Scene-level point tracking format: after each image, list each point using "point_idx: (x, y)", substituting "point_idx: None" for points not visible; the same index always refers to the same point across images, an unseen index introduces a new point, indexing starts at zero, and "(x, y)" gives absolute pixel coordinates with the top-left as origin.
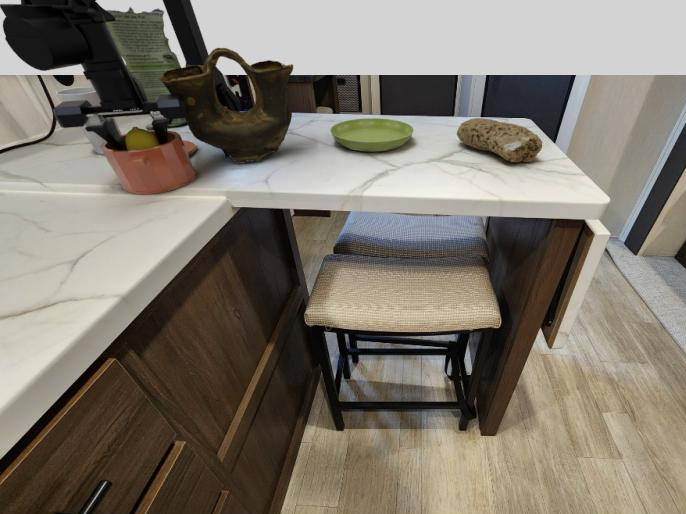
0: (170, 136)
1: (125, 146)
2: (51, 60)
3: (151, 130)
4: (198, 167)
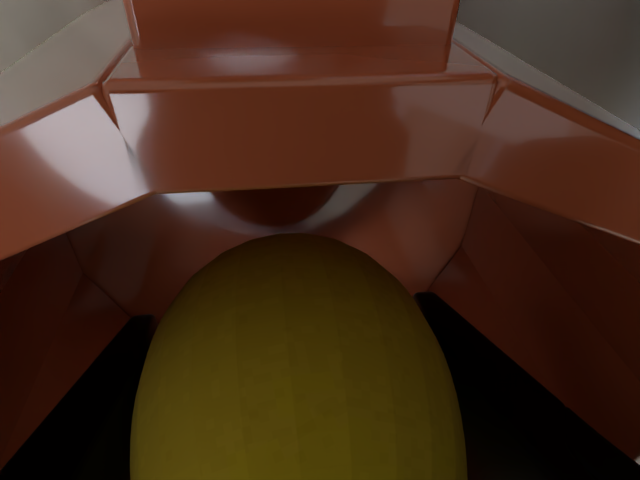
0: (634, 269)
1: (115, 466)
2: None
3: (438, 94)
4: (551, 26)
